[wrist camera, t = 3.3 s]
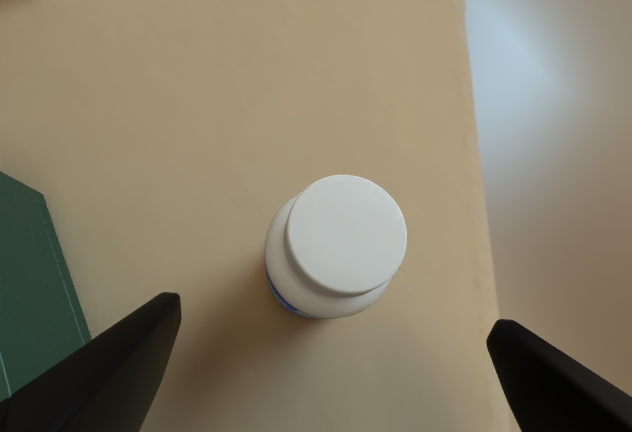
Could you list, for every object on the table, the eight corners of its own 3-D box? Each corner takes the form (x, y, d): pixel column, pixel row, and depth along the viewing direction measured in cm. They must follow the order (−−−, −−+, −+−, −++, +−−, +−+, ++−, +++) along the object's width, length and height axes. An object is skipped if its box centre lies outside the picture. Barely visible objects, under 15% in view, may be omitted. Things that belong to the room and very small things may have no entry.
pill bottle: (265, 232, 19) (257, 153, 10) (348, 228, 20) (411, 151, 11) (268, 323, 18) (262, 327, 8) (359, 314, 18) (444, 309, 9)
